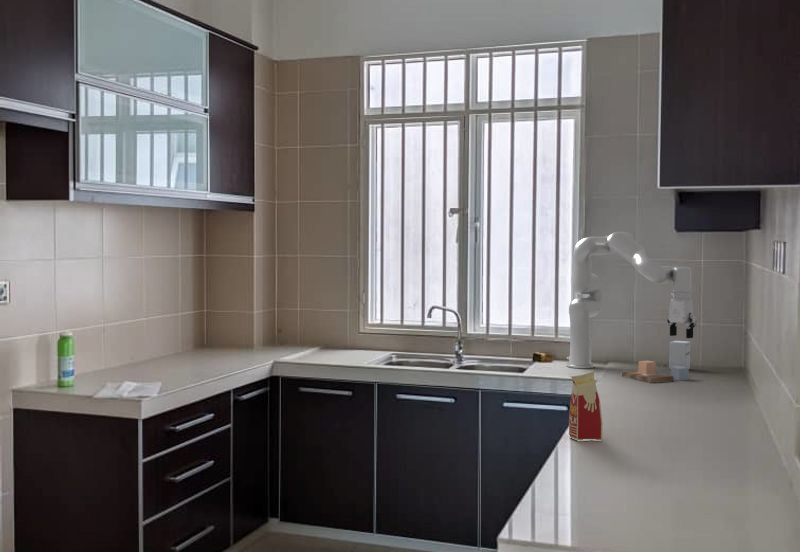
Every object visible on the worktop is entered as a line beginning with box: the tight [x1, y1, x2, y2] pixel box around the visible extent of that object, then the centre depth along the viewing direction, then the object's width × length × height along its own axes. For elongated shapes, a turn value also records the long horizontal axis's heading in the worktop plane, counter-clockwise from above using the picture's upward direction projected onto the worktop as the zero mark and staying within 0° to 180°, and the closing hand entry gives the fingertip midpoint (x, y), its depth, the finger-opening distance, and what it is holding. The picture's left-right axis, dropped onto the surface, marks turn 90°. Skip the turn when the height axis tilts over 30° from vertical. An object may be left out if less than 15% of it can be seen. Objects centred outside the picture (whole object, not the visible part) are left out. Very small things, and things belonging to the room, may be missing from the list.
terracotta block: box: [637, 360, 657, 375], centre depth 343 cm, size 5×5×5 cm
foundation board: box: [621, 369, 674, 384], centre depth 343 cm, size 18×12×2 cm, turn 23°
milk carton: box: [568, 370, 604, 441], centre depth 240 cm, size 9×9×20 cm
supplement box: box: [668, 340, 691, 370], centre depth 367 cm, size 7×7×13 cm
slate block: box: [670, 366, 690, 381], centre depth 342 cm, size 5×5×5 cm
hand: (681, 336), depth 341 cm, fingers open, 9 cm apart
